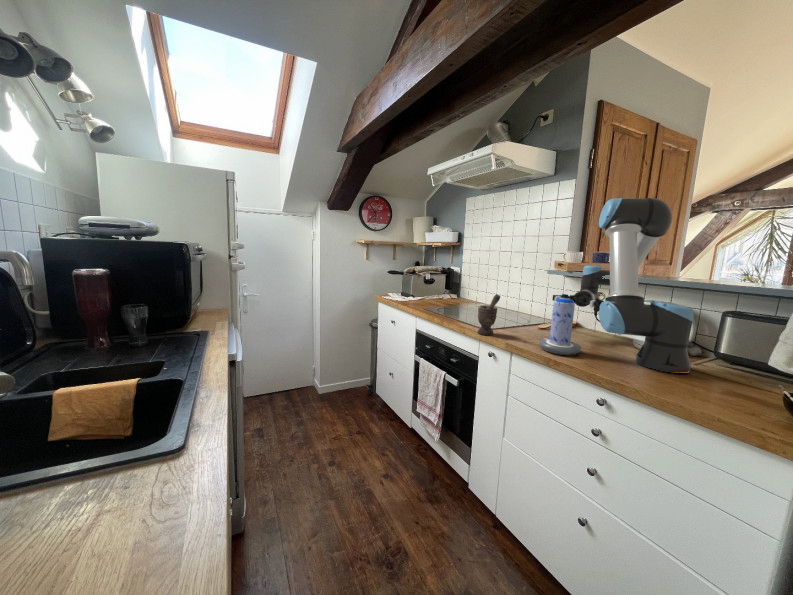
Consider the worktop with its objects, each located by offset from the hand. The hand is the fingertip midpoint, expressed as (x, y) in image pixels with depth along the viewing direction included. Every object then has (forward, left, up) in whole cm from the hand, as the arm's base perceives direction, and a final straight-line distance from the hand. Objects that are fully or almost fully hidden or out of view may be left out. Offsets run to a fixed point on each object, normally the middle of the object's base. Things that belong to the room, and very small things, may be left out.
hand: (572, 302), depth 131 cm
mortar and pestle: (+22, +25, -19) cm, 38 cm away
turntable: (-6, +12, -17) cm, 22 cm away
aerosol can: (-5, +12, -16) cm, 20 cm away
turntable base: (-6, +12, -19) cm, 23 cm away
